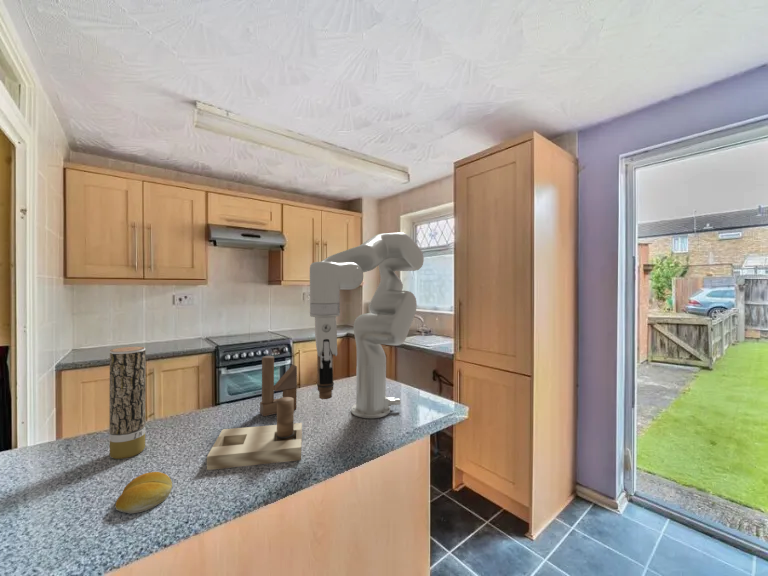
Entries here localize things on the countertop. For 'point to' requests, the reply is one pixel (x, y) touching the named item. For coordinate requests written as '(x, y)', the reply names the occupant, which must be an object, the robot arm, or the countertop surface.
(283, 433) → the seated peg
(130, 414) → the paper tube
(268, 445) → the socket board
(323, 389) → the walnut peg
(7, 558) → the countertop surface
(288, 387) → the brown wooden angled piece
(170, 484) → the bread roll
